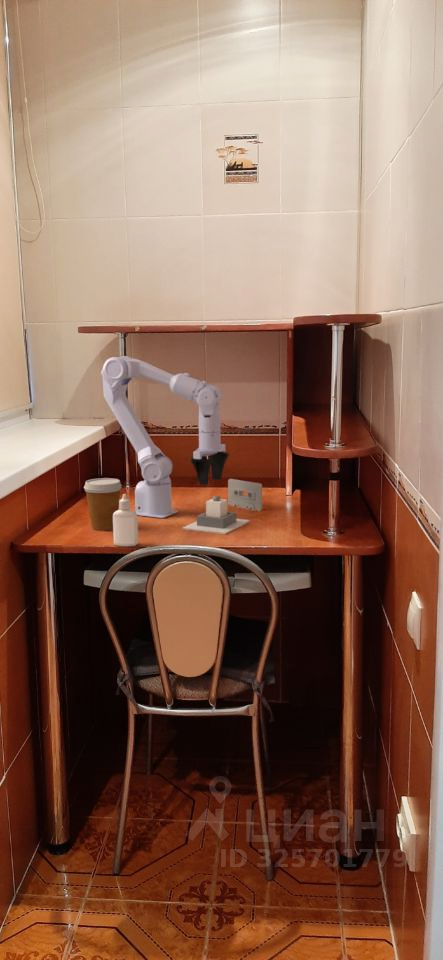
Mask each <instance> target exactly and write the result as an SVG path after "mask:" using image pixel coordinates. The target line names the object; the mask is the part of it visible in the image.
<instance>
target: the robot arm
mask: <svg viewBox="0 0 443 960" xmlns="http://www.w3.org/2000/svg"><path fill="white" fill-rule="evenodd" d="M100 375H101V377H102V385H103V388H102V389H103V390H102V391H103V397H104V400H105V401H106V403H107V405H108V406H109V408H110V410H111V412H112V413H113V415H114V417H115V418H116V420H117V422H118V423H119V426H120V427H121V429H122V431H123V432H124V433H125V435H126V436H127V439H128V441H129V442H130V444H131V446H132V447H133V449H134V450H135V453H136V454H137V463H138V464H139V466H140V469H141V472H140V473H141V476H142V478H143V479H144V480H141V481H140V480H139V482H138V483H137V484H136V486H135V488H134V489H135V490H134V499H135V500H134V503H135V504H134V505H135V506H134V507H135V512H136V513H137V516H142V517H151V518H158V519H164V518H167V517H169V516H171V515H174V514H177V513H178V512H179V511H178V509H172V507H173V506H172V480H171V478H170V475H171V474H172V471H173V467H174V465H173V461H172V460H171V458H170V457H168V456H166V455H165V454H164V453H163V452H162V450H161V449H160V448H159V447H158V446H157V445H155V443H154V441H153V440H152V438H151V437H150V435H149V433H148V431H147V430H146V428H145V426H144V425H143V423H142V421H141V419H140V418H139V416H138V414H137V412H136V411H135V409H134V408H133V406H132V405H131V403H130V401H129V399H128V397H127V396H126V392H127V388H128V386H129V383H130V381H132V379H133V378H140V377H141V378H146V379H148V380H150V381H153V382H156V383H157V384H161V385H164V386H165V387H169V388H170V391H171V392H172V394H174V395H176V396H178V397H180V398H183V399H185V400H188V401H190V402H192V403H196V404H197V406H198V447H197V448H196V450H194V451H192V452H193V453H192V454H193V455H192V456H193V457H191V458H190V462H191V464H192V465H193V467H194V470H195V472H196V476H197V477H196V478H197V479H198V484H199V485H203V486H207V485H209V484H208V483H209V477H210V470H211V475H212V476H211V477H212V480H216V481H217V480H219V481H221V480H222V476H223V470H224V467H225V464H226V462H227V459H228V457H229V452H226V444H225V443H224V444H223V443H221V439H222V438H221V413H220V412H221V404H220V402H221V401H222V398H223V393H222V391H221V389H220V388H219V387H218V386H216V385H215V384H213V383H210V384H209V383H208V384H207V381H206V380H202V381H201V380H199V379H196V378H194V377H192V376H191V373H188V372H184V373H182V372H181V373H177V374H172V373H169V372H167V371H165V370H163V369H161V368H158V367H156V366H154V365H152V364H150V363H148V362H146V361H143V360H140V359H138V358H132V357H130V356H128V355H127V356H126V355H121V356H119V357H116V356H112V357H109V358H107V360H105V362H104V364H103V367H102V369H101V372H100ZM207 457H208V458H207Z"/></svg>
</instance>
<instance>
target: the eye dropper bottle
mask: <svg viewBox="0 0 443 960" xmlns="http://www.w3.org/2000/svg"><path fill="white" fill-rule="evenodd" d="M138 523H139V522H138V515H137V513H136V510H135V511H134V510H133V509H131V501H130V499H128V498H127V494H126V493H123V494H122V498H121V499H119V509H118V510H117V511H115V512H114V513H113V529H112V532H113V533H112V535H113V545H114V546H118V547H136V546H137V545H138V544H139V527H138V526H139V525H138Z"/></svg>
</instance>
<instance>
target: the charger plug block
mask: <svg viewBox="0 0 443 960" xmlns="http://www.w3.org/2000/svg"><path fill="white" fill-rule="evenodd" d="M205 512H206V516H211V517H219V518H222V517H224V516H226V515H227V512H228V499H223V498H221V496H219V495H213V496H212V498H211V499H208V500H207V501H205Z"/></svg>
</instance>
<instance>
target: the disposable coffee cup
mask: <svg viewBox="0 0 443 960" xmlns="http://www.w3.org/2000/svg"><path fill="white" fill-rule="evenodd" d="M122 487H123V485H122V484H121V480H120V479H118V478H109V477H103V478H91V479H88V480H85V484H84V486H83V489H84V491H85V494H86V499H87V505H88V511H89V517H90V522H91V528H92V529H93V530H95V531H109V530H111V531H113V513H114V512H115V511H117V510H119V509H120V507H119V501H120V495H121V490H122V489H121V488H122Z"/></svg>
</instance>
